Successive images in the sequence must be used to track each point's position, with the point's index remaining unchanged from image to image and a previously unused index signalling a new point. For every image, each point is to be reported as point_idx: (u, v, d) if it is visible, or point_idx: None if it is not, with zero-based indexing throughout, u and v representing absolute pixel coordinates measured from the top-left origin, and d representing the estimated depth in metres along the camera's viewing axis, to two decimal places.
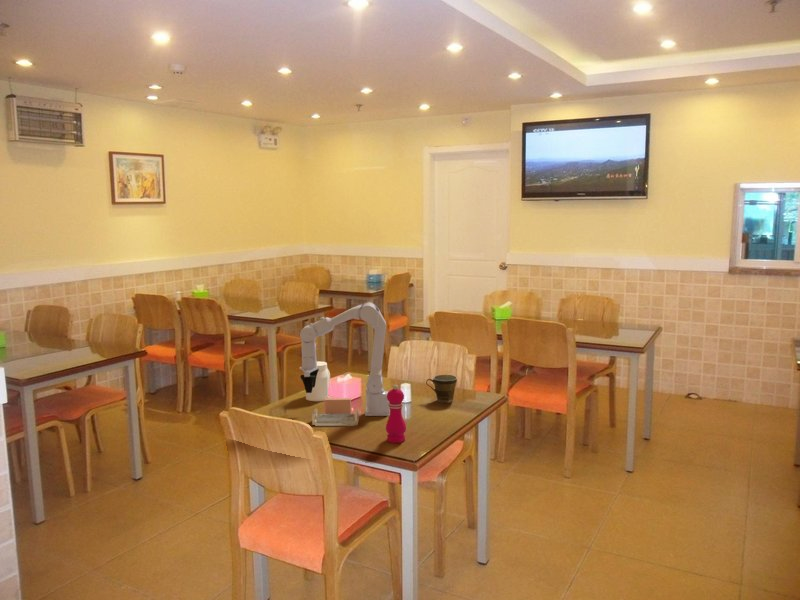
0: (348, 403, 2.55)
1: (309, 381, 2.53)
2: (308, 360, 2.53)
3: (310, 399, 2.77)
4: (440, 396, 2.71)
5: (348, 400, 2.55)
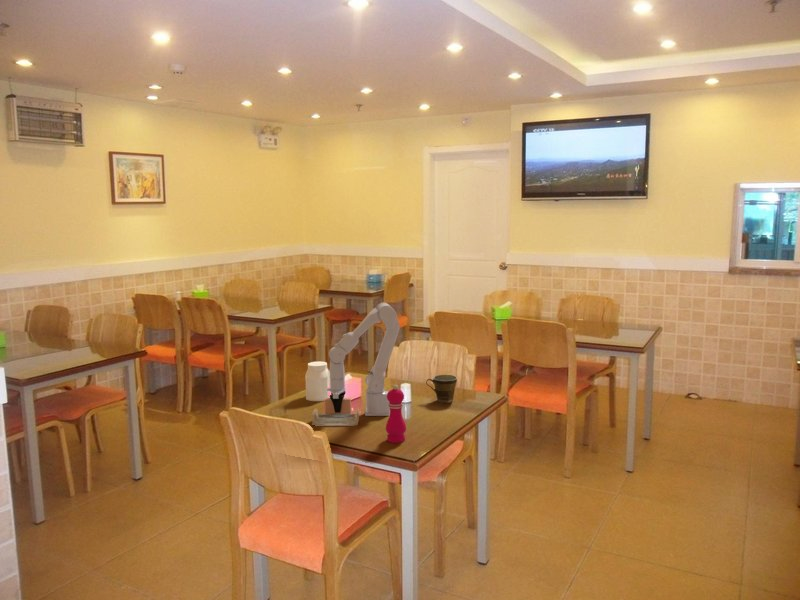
0: (348, 403, 2.55)
1: (338, 401, 2.54)
2: (336, 381, 2.52)
3: (310, 399, 2.77)
4: (440, 396, 2.71)
5: (348, 400, 2.55)
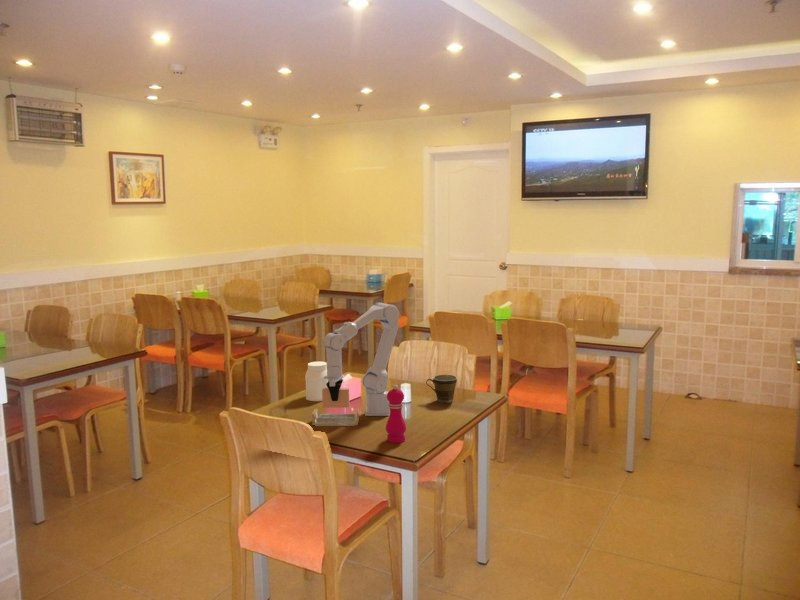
0: (346, 393, 2.46)
1: (335, 389, 2.45)
2: (333, 368, 2.43)
3: (310, 399, 2.77)
4: (440, 396, 2.71)
5: (346, 390, 2.46)
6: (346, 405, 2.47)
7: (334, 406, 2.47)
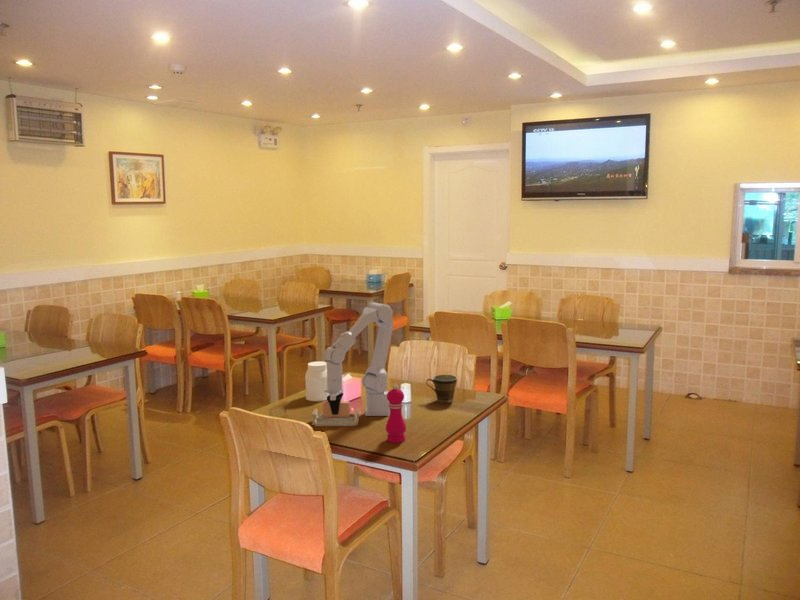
0: (347, 407, 2.47)
1: (335, 403, 2.46)
2: (333, 382, 2.44)
3: (310, 399, 2.77)
4: (440, 396, 2.71)
5: (347, 403, 2.47)
6: None
7: None
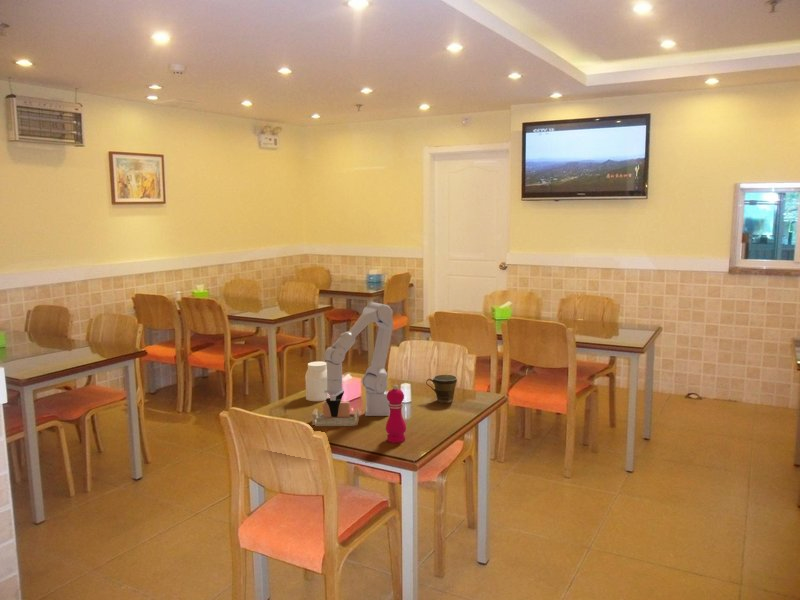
0: (347, 407, 2.47)
1: (335, 405, 2.43)
2: (333, 382, 2.44)
3: (310, 399, 2.77)
4: (440, 396, 2.71)
5: (347, 403, 2.47)
6: None
7: None
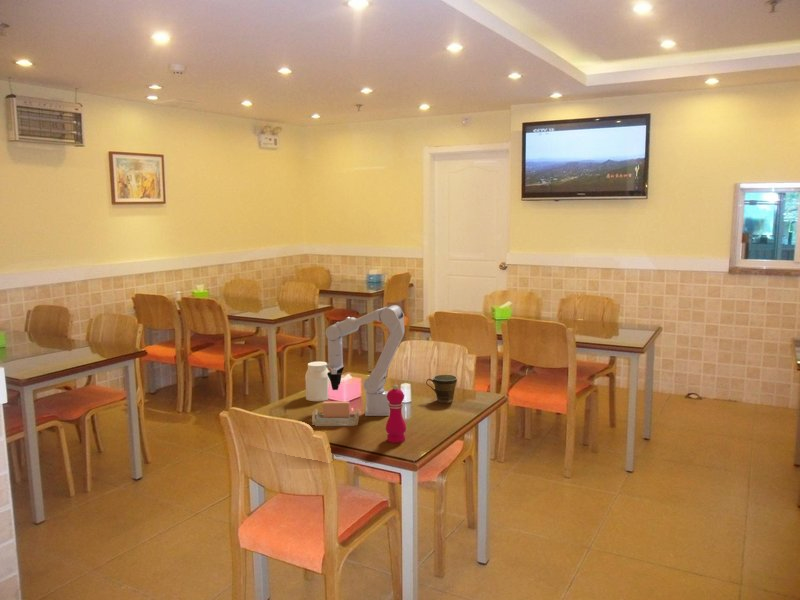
0: (347, 407, 2.47)
1: (336, 378, 2.58)
2: (334, 357, 2.58)
3: (310, 399, 2.77)
4: (440, 396, 2.71)
5: (347, 403, 2.47)
6: None
7: None
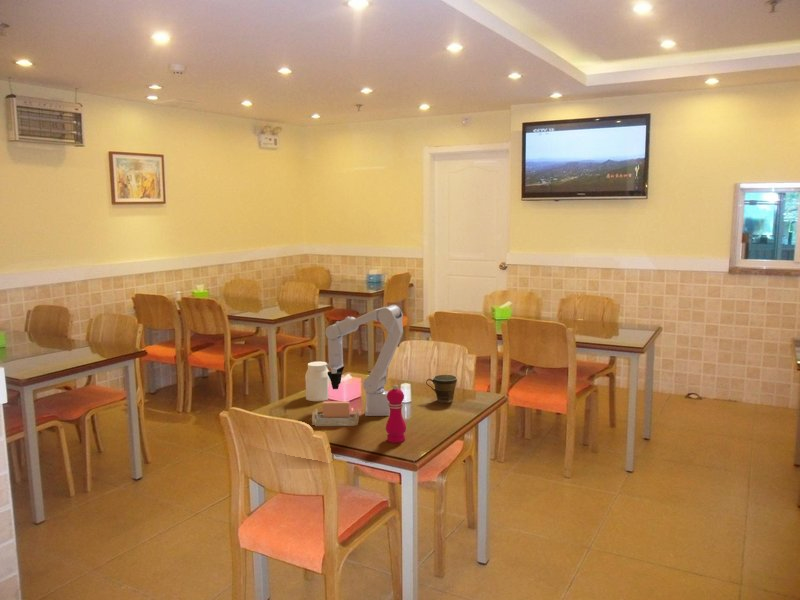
0: (347, 407, 2.47)
1: (336, 378, 2.59)
2: (334, 357, 2.60)
3: (310, 399, 2.77)
4: (440, 396, 2.71)
5: (347, 403, 2.47)
6: None
7: None
